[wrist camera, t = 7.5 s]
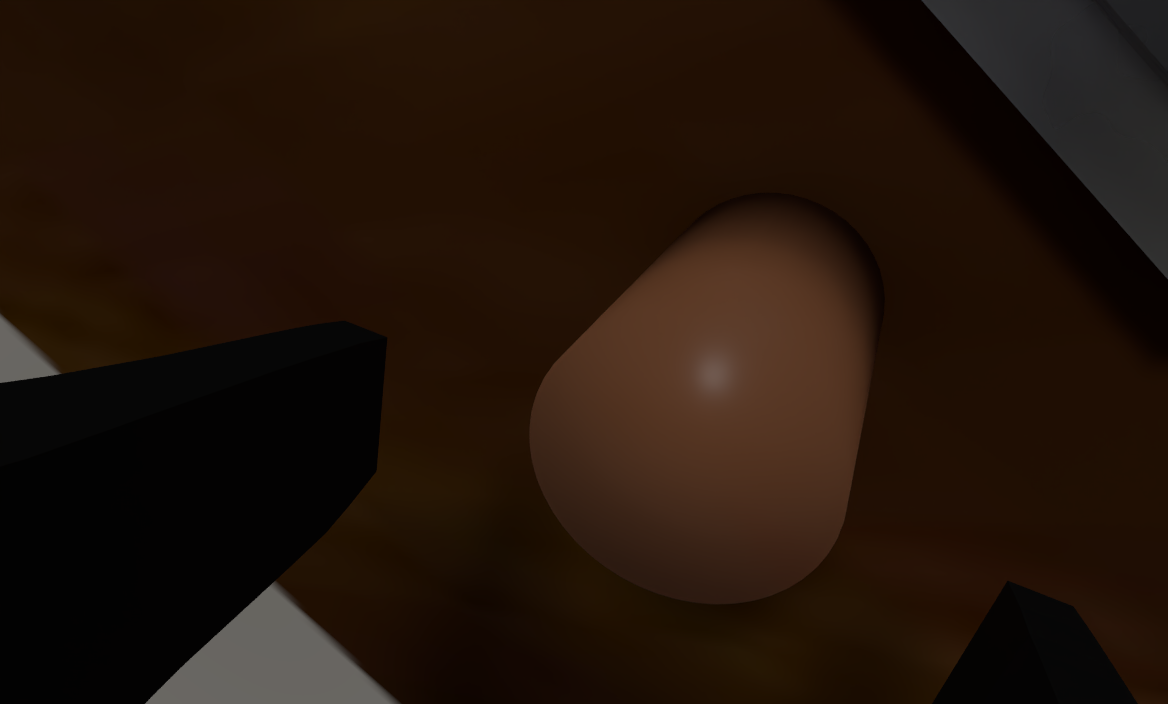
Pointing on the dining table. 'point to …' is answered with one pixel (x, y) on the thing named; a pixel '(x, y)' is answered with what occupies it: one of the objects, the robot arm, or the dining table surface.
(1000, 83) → the breaker panel
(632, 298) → the brown egg
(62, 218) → the dining table surface
